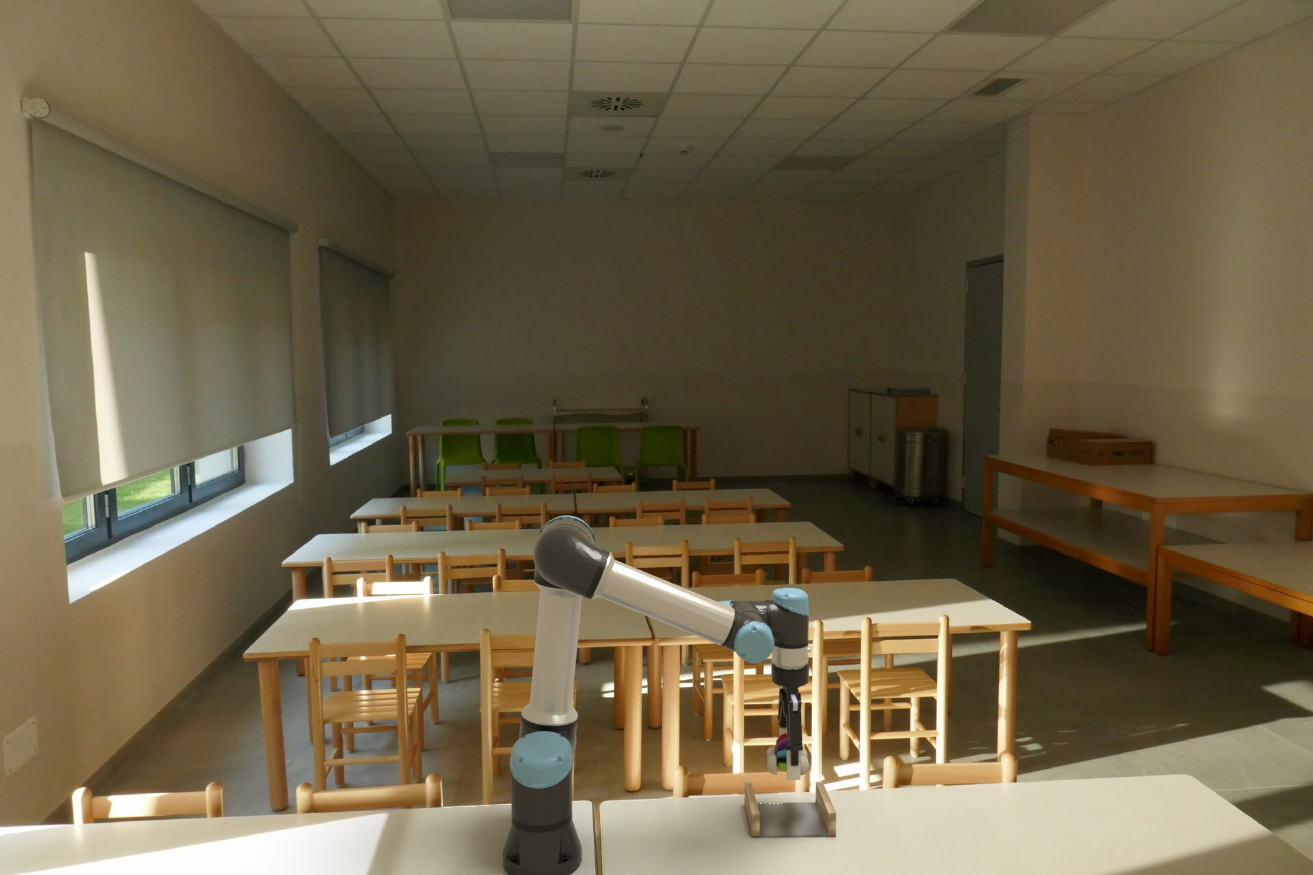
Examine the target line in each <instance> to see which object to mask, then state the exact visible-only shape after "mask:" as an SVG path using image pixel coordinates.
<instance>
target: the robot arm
mask: <svg viewBox="0 0 1313 875" xmlns="http://www.w3.org/2000/svg"><path fill="white" fill-rule="evenodd" d="M533 563H534V572H533V573H534V574H533V583H534V585H535V586H536V587H537V589H539V591H540V592H539V603H538V611H537V612H538V613H537V622H536V634H535V643H534V655H533V666H532V676H531V677H532V678H531V687H530V697H529V698H530V699H529V703H528V704H526V706H525V705H524V707H523V708H522V709H521V713H520V714H521V716H520V723H519V724H520V725H519V734H518V736H519V737H518V740H516V742H515V743H514V744H513V746H512V748H511V751H510V752H511V753H510V758H509V768H510V787H511V788H510V790H511V791H510V792H511V795H510V798H511V799H510V800H511V801H510V803H511V804H510V805H511V806H510V808H511V812H510V813H511V823H510V828H509V832H508V834H507V838H506V841H505V843H504V847H503V850H502V866H503V869H504V870H505V872H506V873H507V874H509V875H570V874H572V873H573V872H575V871H576V870H577V869H578V868H579V867H580V865H581V864H582V860H583V859H582V858H583V855H582V854H583V853H582V851H583V849H582V843H581V841H580V838H579V835H578V833H577V832H578V831H577V829H576V826H575V824H574V819H573V771H574V761H575V752H576V751H575V750H576V748H577V729H578V718H579V714H578V712H577V710H576V709H575V708H574V707H573V704H572V702H573V693H574V683H575V672H576V662H577V655H578V654H577V653H578V652H577V651H578V644H579V643H578V642H579V632H580V622H581V612H582V601H583V597H584V598H586V599H589V600H591V601H592V600H595V599H598V598H600V599H603V600H606V601H608V602H610V603H614V604H616V605H618V606H621V607H624V608H626V609H629V610H631V611H634V612H636V613H638V614H640V615H641V614H642V615H644V616H645V617H648V618H650V619H654V620H656V621H658V622H661V623H663V624H666V625H668V626H671V627H673V628H676V629H678V630H681V631H683V632H686V633H688V634H691V635H693V636H695V637H698V638H701V639H703V640H705V641H708V642H710V643H713V644H716V645H719V646H721V647H722V648H725V649H727V650H730V651H732V652H735V653H736V654H737V656H738V657H739V658H740V659H742V660H743V661H744V662H746V663H748V664H749V663H750V664H759V663H762V662H764V661H766V660H767V659H768V658H769V657H770V656H771V662H772V665H771V681H772V682H773V684H775V685H777V686H778V687H779V688H778V690H779V691H778V708H777V710H778V711H777V720H778V726H779V728H778V729H779V730H778V732H779V733H778V734H779V735H778V737H779V736H781V735H782V734H786V733H787V737H788V747H785V750H787V772H786V780H787V781H800V780H801V775H800V774H801V751H802V750H803V748H804V746H803V745H804V744H803V724H802V723H803V720H802V704H803V702H802V694H801V692H800V691H799V688H800V687H804V686H806V685H807V684H808V683H809V665H807V664H808V663H809V654H808V653H811V652H812V648H811V647H809V633H810V632H809V628H810V627H809V626H810V609H809V608H810V607H809V605H810V604H809V595H808V594H807V592H806V591H804V590H803V589H800V588H796V587H783V588H776V589H774V590H773V592H772V593H771V597H770V599H765V600H764V599H761V600H759V599H757V600H749V599H748V600H746V599H745V600H733V599H730V600H721V601H720V600H719V601H716V600H714V599H712V598H710V597H707V596H705V595H702V594H699V593H697V592H694V591H692V590H689V589H687V588H684V587H683V586H680V585H677V584H675V583H672V582H670V581H667V580H665V579H663V578H660V577H657V576H655V575H652V574H651V573H648V572H645V571H644V570H640V569H638V568H636V567H634V566H630V565H628V564H627V563H623V562H621V561H618V560H616V559H615V558H614V556H613V553H612V552H611V551H608V550H606V549H603V548H601V547H600V546H597V545H596V537H595V533H594V531H593V530H592V528H591V527H590V526H589V524H588V523H586V521H584V520H583V519H581V518H579V517H577V516H573V515H559V516H557V517H554V518H553V519H551V520H549V521H546V523H545V524H544V525H543V526H542V528H541V529H540V531H539V532H538V536H537V540H536V542H535V545H534V548H533Z"/></svg>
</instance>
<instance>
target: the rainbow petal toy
mask: <svg viewBox="0 0 1313 875" xmlns="http://www.w3.org/2000/svg"><path fill="white" fill-rule="evenodd" d="M785 747H788V737H787V733H786V734H782V735H781V736H779V735H778V737H777V739H776V742H775V745H772V746H770V747H769V748H768V749H767V751H766V760H767V763H766V764H767V771H768V772H769V773H770V774H772V775H774V776H776V775H777V772H778V770H779V771H781V772H786V773H787V750H785ZM777 769H778V770H777ZM809 769H810V764H809V760H808V752H807V750H806V749H805V748H804V747H803V750H802V751H801V774H800V776H804V775H806V774H807V773H808V772H809Z"/></svg>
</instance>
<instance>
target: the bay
mask: <svg viewBox="0 0 1313 875" xmlns="http://www.w3.org/2000/svg"><path fill="white" fill-rule="evenodd" d="M743 791H744V794H743V796H744V804H745V805H744V808H746V809H745V813H746V812H747V814H746V818H747V817H748V818H747V821H748V826H749V830H750V835H751V838H830V837H831V838H833V837H834V838H836V837H837V829H836V828H837V812H836V809H835V807H834V804H833V802H832V800H831V798H830V795H829V793H828V790H827V789H826V786H825V783H824V782H823V781H815V801H812V802H810V801H809V802H807V801H806V802H803V801H802V802H757V798H756V795H755V790H754V787H753V783H752V782H744V790H743ZM757 803H758V804H757ZM760 803H762V804H760ZM765 803H766V804H765ZM769 803H771V804H769ZM773 803H775V804H773ZM777 803H779V804H777ZM781 803H782V804H781Z"/></svg>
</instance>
